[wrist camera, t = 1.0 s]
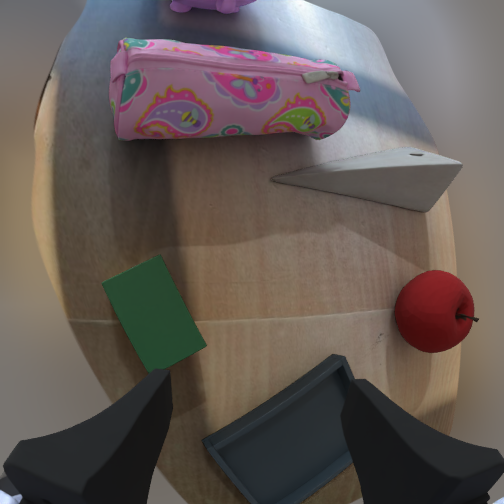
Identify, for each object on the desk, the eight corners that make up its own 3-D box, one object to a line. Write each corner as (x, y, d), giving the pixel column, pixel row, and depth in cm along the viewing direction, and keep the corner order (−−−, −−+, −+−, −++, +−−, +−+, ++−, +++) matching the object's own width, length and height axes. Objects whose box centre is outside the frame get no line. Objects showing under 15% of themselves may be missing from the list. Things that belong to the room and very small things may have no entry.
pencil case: (303, 88, 33) (347, 42, 24) (323, 156, 32) (378, 117, 24) (111, 81, 25) (114, 13, 16) (110, 162, 24) (105, 101, 15)
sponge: (147, 365, 22) (150, 377, 19) (106, 285, 22) (101, 282, 19) (196, 339, 24) (207, 346, 21) (156, 261, 24) (160, 253, 20)
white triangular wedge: (299, 275, 28) (456, 224, 33) (294, 188, 24) (463, 161, 29) (262, 233, 37) (406, 199, 41) (254, 166, 33) (407, 145, 38)
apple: (434, 288, 36) (497, 281, 27) (420, 356, 33) (486, 361, 24) (390, 263, 33) (462, 249, 24) (373, 341, 31) (448, 347, 22)
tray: (260, 513, 23) (268, 523, 21) (201, 440, 23) (206, 449, 21) (367, 433, 29) (379, 438, 27) (332, 353, 29) (345, 356, 27)
